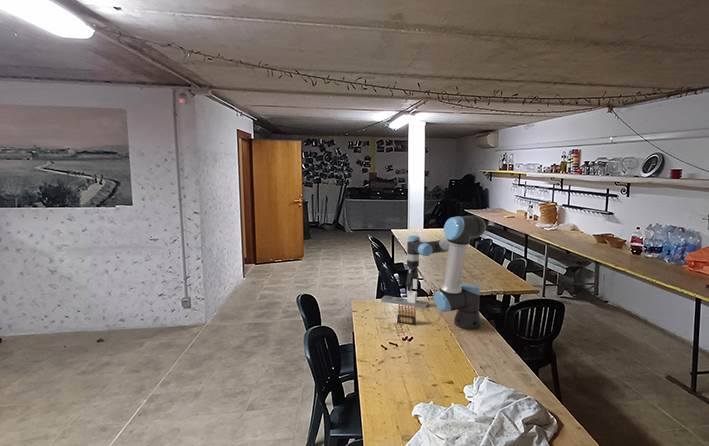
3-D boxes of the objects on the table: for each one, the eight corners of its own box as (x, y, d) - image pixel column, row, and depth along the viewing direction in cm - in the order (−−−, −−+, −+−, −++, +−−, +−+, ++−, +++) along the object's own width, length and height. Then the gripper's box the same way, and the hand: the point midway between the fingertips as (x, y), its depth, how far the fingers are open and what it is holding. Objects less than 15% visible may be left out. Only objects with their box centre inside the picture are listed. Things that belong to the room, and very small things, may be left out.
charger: (416, 303, 255) (417, 291, 254) (414, 305, 251) (415, 293, 250) (409, 302, 257) (409, 290, 256) (407, 304, 253) (407, 292, 252)
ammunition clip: (416, 324, 226) (416, 304, 224) (415, 325, 224) (415, 305, 222) (397, 321, 229) (398, 302, 228) (397, 323, 228) (397, 303, 226)
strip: (447, 309, 249) (447, 303, 248) (445, 313, 242) (445, 307, 242) (384, 299, 265) (384, 294, 265) (381, 303, 259) (381, 298, 259)
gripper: (412, 254, 262) (411, 285, 266) (401, 264, 240) (400, 297, 243) (423, 256, 259) (422, 286, 263) (413, 265, 237) (412, 299, 240)
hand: (412, 292), depth 253 cm, fingers open, 13 cm apart
